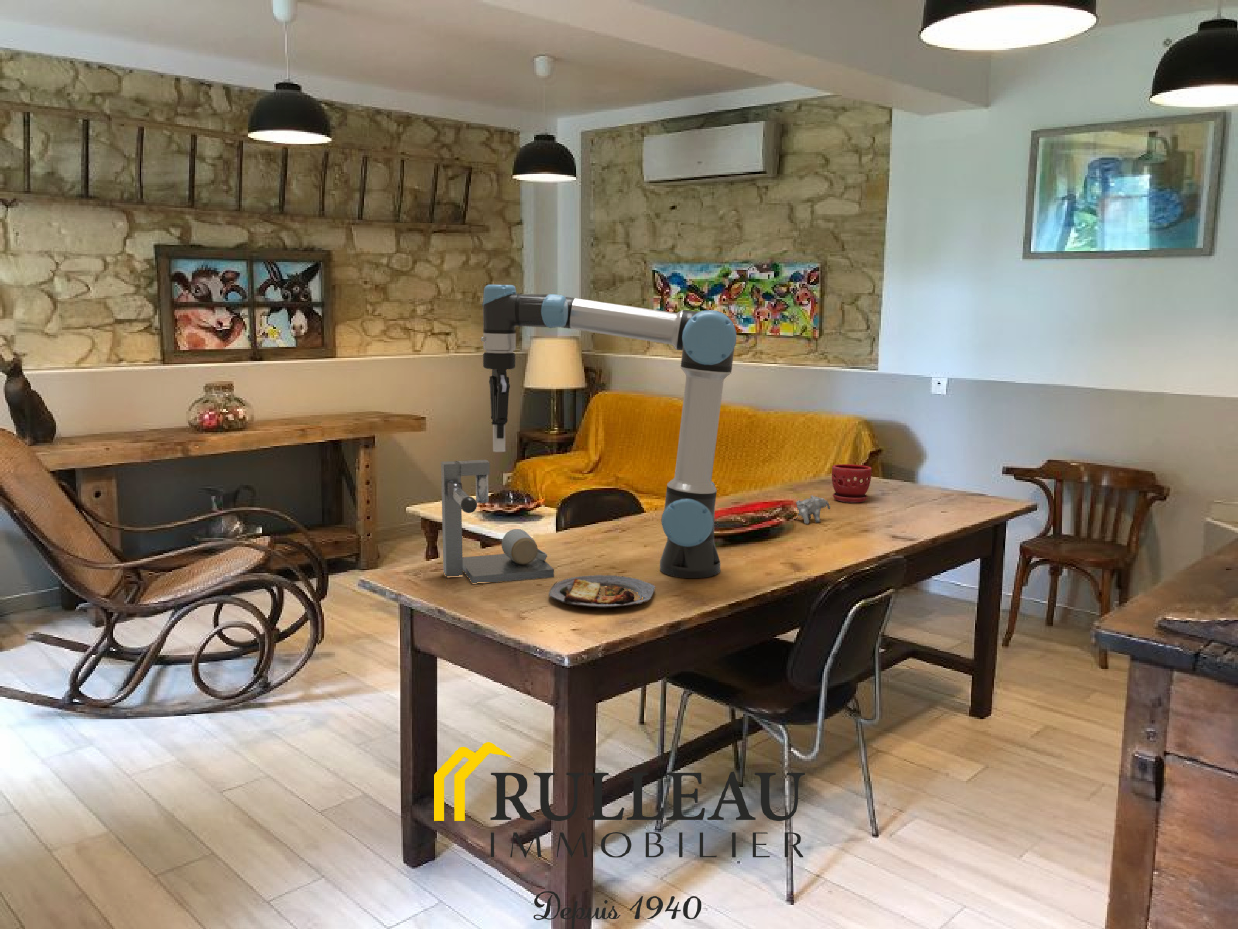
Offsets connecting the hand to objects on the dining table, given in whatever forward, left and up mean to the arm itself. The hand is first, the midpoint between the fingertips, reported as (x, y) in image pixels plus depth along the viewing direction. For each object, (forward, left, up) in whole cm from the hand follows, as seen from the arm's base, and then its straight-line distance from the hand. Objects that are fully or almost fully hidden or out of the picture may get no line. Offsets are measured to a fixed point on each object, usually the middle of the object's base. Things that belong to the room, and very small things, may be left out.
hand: (499, 451), depth 230 cm
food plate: (-23, -18, -32) cm, 43 cm away
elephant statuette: (+31, -105, -31) cm, 114 cm away
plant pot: (+54, -134, -31) cm, 148 cm away
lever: (-8, +11, -11) cm, 17 cm away
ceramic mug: (+6, -8, -29) cm, 31 cm away
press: (+5, 0, -31) cm, 32 cm away
